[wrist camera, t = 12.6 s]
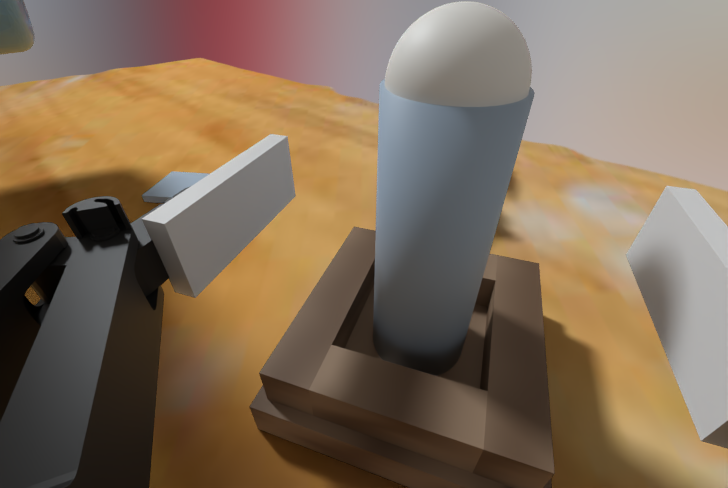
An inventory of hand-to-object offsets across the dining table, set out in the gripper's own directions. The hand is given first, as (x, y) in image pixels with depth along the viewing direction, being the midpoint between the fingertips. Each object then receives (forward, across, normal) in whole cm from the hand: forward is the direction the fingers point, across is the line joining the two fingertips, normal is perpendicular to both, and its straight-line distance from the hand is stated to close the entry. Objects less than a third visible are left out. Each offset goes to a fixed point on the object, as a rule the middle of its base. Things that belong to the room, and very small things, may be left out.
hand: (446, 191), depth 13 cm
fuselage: (0, 0, -8) cm, 8 cm away
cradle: (0, 0, -10) cm, 10 cm away
